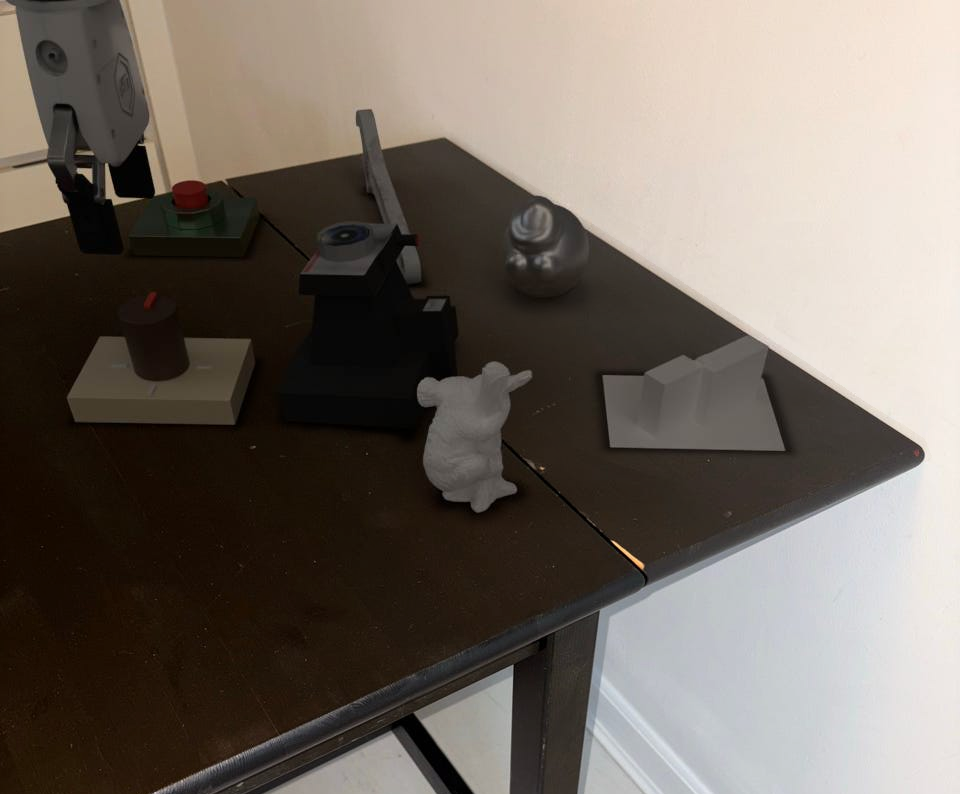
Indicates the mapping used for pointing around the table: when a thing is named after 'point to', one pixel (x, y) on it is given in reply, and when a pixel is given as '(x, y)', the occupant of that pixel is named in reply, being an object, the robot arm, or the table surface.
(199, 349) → the panel
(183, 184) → the button
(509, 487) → the animal figurine
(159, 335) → the dial
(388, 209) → the wrench
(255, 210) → the button block
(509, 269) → the dark grey rounded lump
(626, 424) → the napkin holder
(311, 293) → the camera
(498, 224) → the table surface
